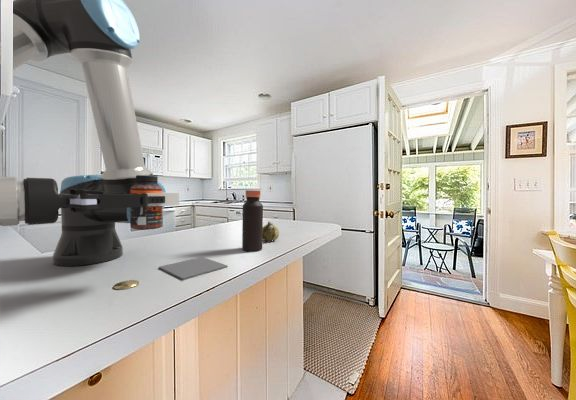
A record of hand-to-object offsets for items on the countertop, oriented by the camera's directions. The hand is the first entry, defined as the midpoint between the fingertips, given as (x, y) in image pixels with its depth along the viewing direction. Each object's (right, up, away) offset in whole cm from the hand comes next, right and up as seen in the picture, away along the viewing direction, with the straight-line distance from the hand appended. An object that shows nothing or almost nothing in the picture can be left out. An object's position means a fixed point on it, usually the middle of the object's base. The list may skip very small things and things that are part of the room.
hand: (171, 198), depth 55 cm
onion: (+20, -17, +40) cm, 48 cm away
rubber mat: (+3, -18, +6) cm, 19 cm away
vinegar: (+15, -17, +26) cm, 35 cm away
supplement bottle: (-3, -7, -4) cm, 8 cm away
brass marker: (-7, -18, -5) cm, 20 cm away
